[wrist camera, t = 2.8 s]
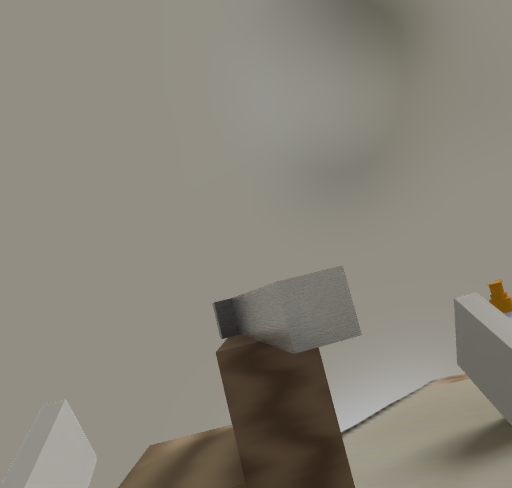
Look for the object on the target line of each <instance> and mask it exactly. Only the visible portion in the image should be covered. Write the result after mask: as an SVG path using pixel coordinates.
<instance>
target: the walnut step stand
mask: <svg viewBox="0 0 512 488" xmlns="http://www.w3.org/2000/svg"><path fill="white" fill-rule="evenodd" d="M216 356H217V360H218V364H219V368H220V373H221V378H222V382H223V386H224V391H225V395H226V399H227V404H228V408H229V413H230V417H231V421H232V425H229V426H225V427H221V428H217V429H213V430H209V431H206V432H201V433H197V434H194V435H190V436H186V437H182V438H178V439H174V440H170V441H166V442H162V443H158V444H154V445H150V446H149V447H148V449H147V450H146V451H145V453H144V454H143V455H142V457H141V458H140V459H139V461H138V462H137V463H136V465H135V466H134V467H133V469H132V470H131V471H130V473H129V474H128V475H127V477H126V478H125V479H124V481H123V482H122V483H121V485H120V486H119V487H118V488H355V485H354V482H353V478H352V474H351V470H350V466H349V462H348V459H347V455H346V451H345V447H344V443H343V440H342V436H341V432H340V428H339V424H338V421H337V417H336V413H335V409H334V405H333V402H332V397H331V394H330V390H329V386H328V382H327V379H326V375H325V371H324V367H323V363H322V359H321V356H320V351H319V348H318V347H317V348H314V349H310V350H307V351H303V352H300V353H296V354H293V353H291V352H288V351H285V350H282V349H280V348H277V347H274V346H271V345H269V344H266V343H263V342H260V341H258V340H255V339H252V338H249V337H247V336H244V335H241V334H239V335H235V336H232V337H228V338H227V339H226V341H225V342H224V343H223V344H222V346H221V347H220V348H219V349H218V351H217V352H216Z"/></svg>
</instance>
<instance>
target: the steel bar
mask: <svg viewBox="0 0 512 488" xmlns="http://www.w3.org/2000/svg"><path fill="white" fill-rule="evenodd" d="M213 307H214V312H215V316H216V321H217V325H218V329H219V333H220V337H221V338H222V339H224V338H228V337H232V336H235V335H239V334H241V335H244V336H247V337H249V338H252V339H255V340H258V341H260V342H263V343H266V344H269V345H271V346H274V347H277V348H280V349H282V350H285V351H288V352H291V353H293V354H296V353H300V352H303V351H307V350H310V349H314V348H317V347H321V346H324V345H328V344H331V343H335V342H338V341H342V340H345V339H349V338H353V337H356V336H360V335H361V331H360V327H359V324H358V320H357V316H356V312H355V309H354V305H353V302H352V298H351V294H350V291H349V287H348V284H347V280H346V276H345V272H344V269H343V266H339V267H335V268H331V269H327V270H323V271H319V272H314V273H310V274H306V275H302V276H298V277H294V278H290V279H286V280H282V281H277V282H274V283H272V284H269V285H266V286H264V287H261V288H258V289H256V290H253V291H250V292H248V293H245V294H242V295H239V296H237V297H234V298H231V299H227V300H223V301H219V302H215V303H213Z"/></svg>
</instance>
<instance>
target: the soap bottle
mask: <svg viewBox="0 0 512 488" xmlns="http://www.w3.org/2000/svg"><path fill="white" fill-rule="evenodd" d="M501 282H502V280H501V279H500V280H496V281H495V282H494V283H490V284H488V285H489V287H490V291H491V294H492V295H490V296H491V300H490V301H489V302H490V303H491V304H492V305H493V306H495V307H496V308H497V309H498V310H500V311H501V312H502V313H504V314H505V315H506V316H507V317H509V318H510V319H511V320H512V299H511V297H510V296H507V292H504V289H503V286H502V283H501Z"/></svg>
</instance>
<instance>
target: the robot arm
mask: <svg viewBox="0 0 512 488" xmlns="http://www.w3.org/2000/svg"><path fill="white" fill-rule="evenodd" d="M454 308H455V327H456V346H457V364H458V365H459V366H460V367H461V369H462V370H463V371H464V372H465V373H466V374H467V376H468V377H469V378H470V379H471V380H472V381H473V382H474V384H475V385H476V386H477V387H478V388H479V389H480V390H481V391H482V393H483V394H484V395H485V396H486V397H487V398H488V399H489V401H490V402H491V403H492V404H493V405H494V406H495V407H496V408H497V410H498V411H499V412H500V413H501V414H502V415H503V416H504V418H505V419H506V420H507V421H508V422H509V423H510V424H511V426H512V320H511V319H510V318H509V317H507V316H506V315H505V314H504V313H502V312H501V311H500V310H498V309H497V308H496V307H495V306H493V305H492V304H491V303H490V302H488V301H487V300H485V299H484V298H483V297H482V296H480V295H479V294H478V293H477V292H476V293H472V294H468V295H464V296H460V297H456V298H454ZM96 460H97V456H96V455H95V453H94V451H93V449H92V447H91V445H90V443H89V441H88V440H87V438H86V436H85V434H84V432H83V430H82V428H81V427H80V425H79V423H78V421H77V419H76V417H75V415H74V414H73V412H72V410H71V408H70V406H69V404H68V402H67V401H66V399H63V400H59V401H56V402H52V403H48V404H44V405H42V407H41V409H40V411H39V413H38V415H37V417H36V419H35V420H34V422H33V424H32V426H31V428H30V430H29V432H28V434H27V436H26V438H25V439H24V441H23V443H22V445H21V447H20V449H19V451H18V453H17V455H16V456H15V459H14V460H13V462H12V464H11V466H10V468H9V470H8V472H7V474H6V476H5V477H4V480H3V481H2V483H1V485H0V488H88V487H89V484H90V480H91V477H92V474H93V470H94V467H95V464H96Z"/></svg>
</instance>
